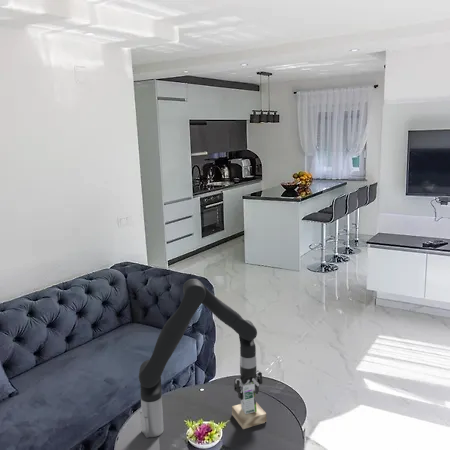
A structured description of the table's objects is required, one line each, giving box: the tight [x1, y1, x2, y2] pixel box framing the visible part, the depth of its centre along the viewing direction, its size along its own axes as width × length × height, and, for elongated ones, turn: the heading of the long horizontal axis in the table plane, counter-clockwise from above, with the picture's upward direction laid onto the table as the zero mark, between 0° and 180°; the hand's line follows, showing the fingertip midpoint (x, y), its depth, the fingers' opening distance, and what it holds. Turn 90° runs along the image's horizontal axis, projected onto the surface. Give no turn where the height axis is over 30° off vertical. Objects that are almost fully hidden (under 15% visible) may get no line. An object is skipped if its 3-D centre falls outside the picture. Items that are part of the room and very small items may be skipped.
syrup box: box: [240, 381, 257, 415], centre depth 213 cm, size 6×6×14 cm
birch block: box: [231, 401, 268, 430], centre depth 215 cm, size 12×12×5 cm
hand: (248, 396), depth 213 cm, fingers open, 8 cm apart
